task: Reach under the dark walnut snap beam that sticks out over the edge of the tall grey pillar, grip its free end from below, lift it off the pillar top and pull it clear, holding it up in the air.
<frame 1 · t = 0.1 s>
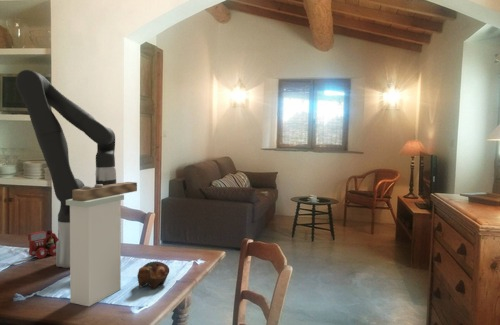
hand: (107, 219, 150), 17 cm above the table, tool pointing down, fingers open, 8 cm apart
pillar: (96, 295, 120), on the table
toy fire truck: (44, 255, 159), on the table
beam: (127, 191, 132), point 31 cm above the table, touching pillar
decorative turtle: (153, 285, 130), on the table
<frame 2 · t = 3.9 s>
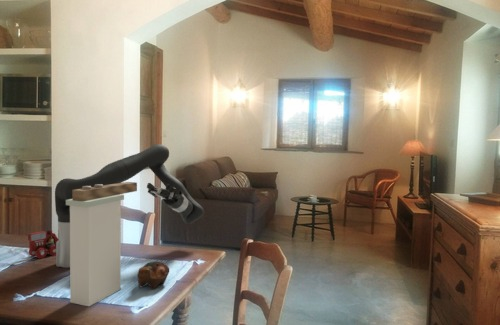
hand: (157, 185, 149), 31 cm above the table, tool pointing upward, fingers open, 8 cm apart
nothing on the table moved.
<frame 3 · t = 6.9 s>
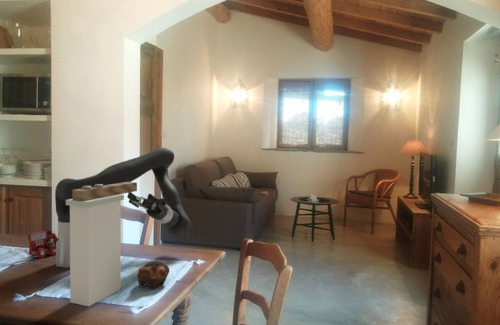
hand: (138, 195, 138), 29 cm above the table, tool pointing upward, fingers open, 8 cm apart
nothing on the table moved.
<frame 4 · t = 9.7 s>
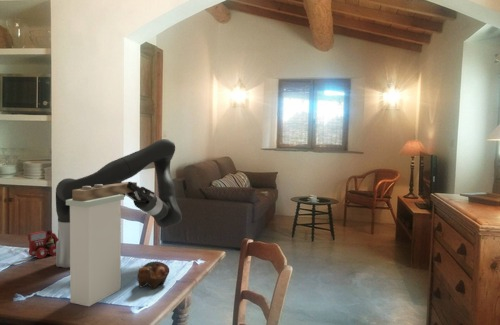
hand: (123, 183, 130), 34 cm above the table, tool pointing upward, fingers closed on beam, 4 cm apart
beam: (127, 191, 132), point 31 cm above the table, touching gripper, pillar
everything else where it was.
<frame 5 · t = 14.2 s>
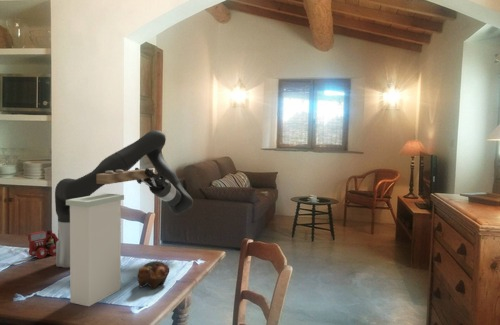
hand: (140, 170, 139), 38 cm above the table, tool pointing upward, fingers closed on beam, 4 cm apart
beam: (144, 177, 141), point 35 cm above the table, touching gripper
everything else where it was.
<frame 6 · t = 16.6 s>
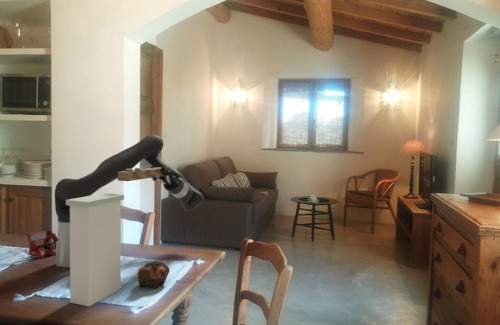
hand: (156, 168, 148), 38 cm above the table, tool pointing upward, fingers closed on beam, 4 cm apart
beam: (160, 175, 151), point 35 cm above the table, touching gripper
everything else where it was.
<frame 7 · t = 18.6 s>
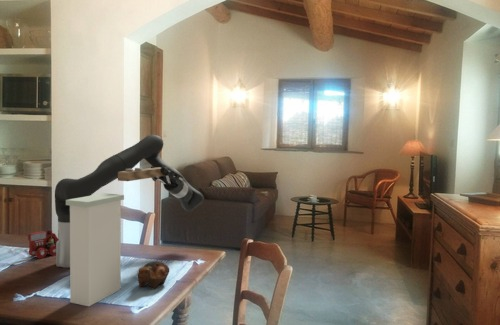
hand: (156, 168, 148), 38 cm above the table, tool pointing upward, fingers closed on beam, 4 cm apart
beam: (160, 175, 151), point 35 cm above the table, touching gripper
everything else where it was.
at the end: the gripper is holding beam; beam touching gripper; beam point 35.0 cm above the table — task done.
